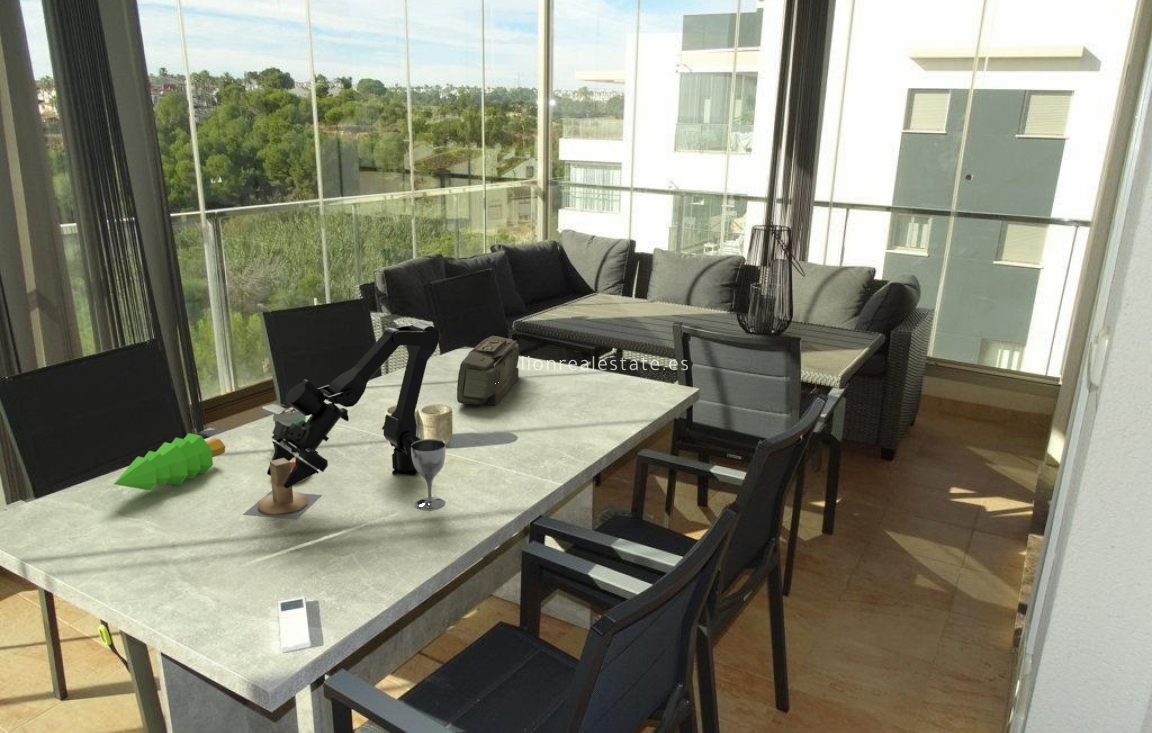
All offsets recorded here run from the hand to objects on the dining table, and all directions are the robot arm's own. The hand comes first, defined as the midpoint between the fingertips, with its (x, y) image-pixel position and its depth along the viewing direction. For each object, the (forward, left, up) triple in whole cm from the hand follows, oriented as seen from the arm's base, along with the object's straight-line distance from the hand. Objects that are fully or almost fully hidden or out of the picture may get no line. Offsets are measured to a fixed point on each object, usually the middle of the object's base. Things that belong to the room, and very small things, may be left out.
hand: (276, 480), depth 183 cm
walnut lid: (-1, -1, -6) cm, 6 cm away
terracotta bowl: (+5, -17, -7) cm, 19 cm away
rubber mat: (-1, -1, -7) cm, 7 cm away
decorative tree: (+33, -8, -7) cm, 34 cm away
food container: (+16, -41, -7) cm, 45 cm away
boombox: (-26, -99, -7) cm, 103 cm away
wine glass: (-34, -9, -7) cm, 36 cm away
